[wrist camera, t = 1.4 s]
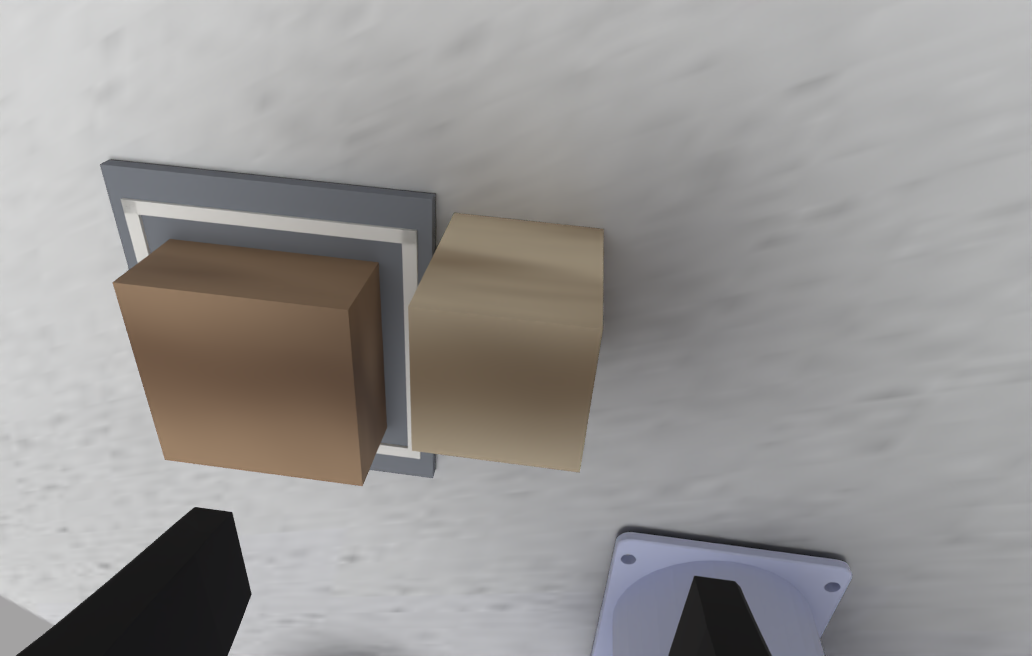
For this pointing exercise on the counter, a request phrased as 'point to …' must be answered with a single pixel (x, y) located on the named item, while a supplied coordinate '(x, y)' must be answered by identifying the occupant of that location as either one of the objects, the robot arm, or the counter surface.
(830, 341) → the counter surface
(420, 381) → the maple block
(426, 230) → the grey flat square plate
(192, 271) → the walnut base
